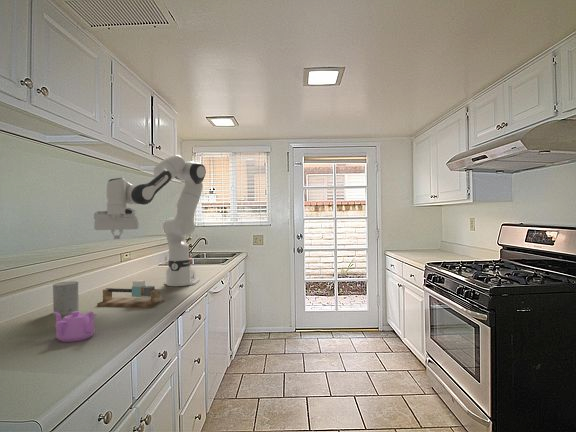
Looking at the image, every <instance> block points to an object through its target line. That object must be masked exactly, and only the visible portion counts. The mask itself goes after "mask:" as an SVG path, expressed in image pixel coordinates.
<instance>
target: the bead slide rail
mask: <svg viewBox="0 0 576 432" xmlns="http://www.w3.org/2000/svg"><path fill="white" fill-rule="evenodd" d="M105 289H108V291H109V292H112V293H132V288H113V287H112V288H111V287H107V288H105ZM152 290H156V288H155V285H153V286H152V285H146V287H144V288H143V289H142V294H144V296H143V297H151V291H152Z"/></svg>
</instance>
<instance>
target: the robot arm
mask: <svg viewBox="0 0 576 432" xmlns="http://www.w3.org/2000/svg"><path fill="white" fill-rule="evenodd" d="M206 173H207V172H206V166H205V165H204V164H202V163H200V162H197V161H196V162H195V161H185V159H184V158H183V156H181V155H180V154H173V155H171V156H169V157H167V158H165V159H163V160H162V161H160V162H158V163H157V164H156V166H155V167H154V168H153V175H154V178H152V179H151V180H149V182H147V183H141V184H132V183H130V182H128V181H127V180H126V179H125V178H124V177H117V178H110V179H109V180H108V181H107V184H106V198H107V203H106V210H102V211H101V210H97V211H95V212H94V213H93V220H94V222H93V223H94V225H93V226H94V230H96V231H110V233H111V234H112V236H113V240H121V238H122V234H123V232H124V230H138V229H140V221H139V217H138V215H137V210H136V209H133V208H130V207H127V204H128V205H149V204H150V203H151V202H152V201H153V200H154V198H155V196H156V194H157V193H158V192H159V191H160V190H161V189H163V188H164V187H165V186H166V185H167V184H169V182H171V181H172V180H173V179H174V178H175V179H176V180H179V181H181V180H182V181H184V186H183V188H182V190H181V192H180V196H179V198H178V201H177V203H176V208H177V209H176V215H175V216H171V217H169V218H166V219H165V220H164V222H163V223H162V230H163V231H164V234H165V236H166V240H167V245H168V263H167V264H168V265H167V267H168V268H167V269H166V273H165V274H166V278H165V281H164V283H163V284H164V285H166V286H169V287H182V286H183V287H184V286H192V285H193V286H194V285H196V284H197V283H198V282H200V278H197V276H196V275H197V274H196V271H195V269H194V268H193V267H192V266H191V263H192V258H191V259H190V252H189V248H190V246H189V245H188V243H187V241H186V237H188V236H190V235H192V234H193V233H194V232H195V229H196V223H195V222H194V221H195V214H196V209H197V206H198V204H199V201H200V199H201V196H202V191H203V186H204V185H203V183H202V182H203V181H204V180H205V177H206ZM116 230H117V231H119V234H117V235H116V233H115V232H116Z"/></svg>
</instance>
